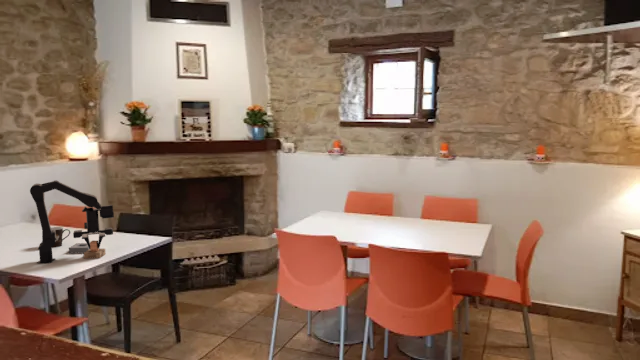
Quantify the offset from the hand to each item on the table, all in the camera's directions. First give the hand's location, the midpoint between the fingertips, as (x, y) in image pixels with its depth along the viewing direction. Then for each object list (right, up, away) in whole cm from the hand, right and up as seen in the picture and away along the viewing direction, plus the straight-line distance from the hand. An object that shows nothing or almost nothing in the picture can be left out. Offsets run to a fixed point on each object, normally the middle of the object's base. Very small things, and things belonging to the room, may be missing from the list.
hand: (94, 248), depth 266 cm
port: (-12, -3, +12) cm, 17 cm away
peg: (0, -4, +1) cm, 4 cm away
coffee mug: (-30, -2, +23) cm, 38 cm away
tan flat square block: (0, -4, +1) cm, 4 cm away
